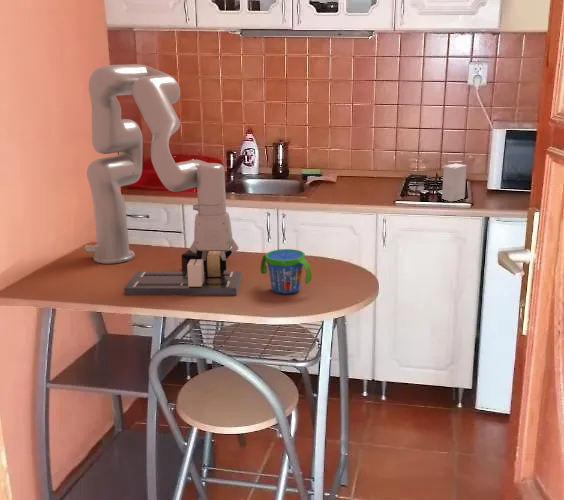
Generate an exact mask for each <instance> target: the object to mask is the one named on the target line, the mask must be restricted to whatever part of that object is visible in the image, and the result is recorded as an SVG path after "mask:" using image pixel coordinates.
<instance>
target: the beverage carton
mask: <svg viewBox="0 0 564 500" xmlns="http://www.w3.org/2000/svg"><path fill="white" fill-rule="evenodd" d="M227 251H228V250H227ZM227 251H226V252H227ZM208 252H209V251H208ZM190 259H201V258H200V257H199V256H198V255H197V254H196V253H194V252H192V251H190V249H188V250H187V251H185V252H183V254H181V271H187V265H188V263H189V261H190Z"/></svg>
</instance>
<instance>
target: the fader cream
mask: <svg viewBox="0 0 564 500" xmlns="http://www.w3.org/2000/svg"><path fill="white" fill-rule="evenodd" d="M187 271H188V287H202V284H203V282H204V264H203V259H190V261H189V263H188V265H187Z"/></svg>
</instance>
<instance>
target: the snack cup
mask: <svg viewBox="0 0 564 500" xmlns="http://www.w3.org/2000/svg"><path fill="white" fill-rule="evenodd" d="M303 266H304V267H303ZM303 268H304V270H305V279H304V284H306V285H307V284H309V283H310V282H311V280H312V276H313V275H312V270H311V266H310V263H309V262H308V260H307V258H306V253H304V252H303V251H302V250H299V249H291V248H283V249H281V248H280V249H274V250H271V251H268V252H267V253H266V254H264V255H263V256H262V258H261V261H260V274H262V275H265V274H267V273H268V275H269V280H270V285H271V289H272V291H273V292H274V293H277V294H284V295H288V294H294V293H298V292H299V290H300V288H301V282H302V275H303Z"/></svg>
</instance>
